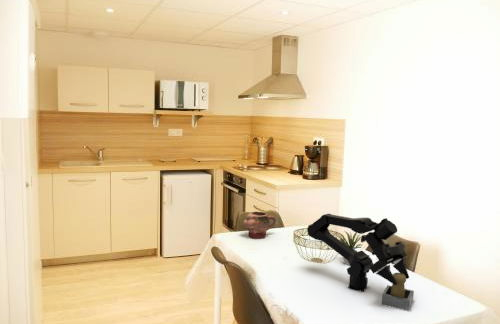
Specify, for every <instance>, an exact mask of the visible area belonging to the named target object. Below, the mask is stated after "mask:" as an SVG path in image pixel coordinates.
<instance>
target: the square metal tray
mask: <svg viewBox="0 0 500 324" xmlns="http://www.w3.org/2000/svg"><path fill="white" fill-rule="evenodd" d="M391 289H392V285H390V284H387V285H386V286H385V288H384V290H383V292H382V293H381V304H382V305H381V306H385V305H386V307H389V306H390V308H393V309H398V308H399V309H398V310H402V309H403V310H402V311H406V310H407V311H406V312H410V310H411V307H412V305H413V302H414V294H415V290H412V289H406V288H405V298H401V297H396V296H392V295H390V293H391ZM411 304H412V305H411Z"/></svg>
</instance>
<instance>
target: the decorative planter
mask: <svg viewBox="0 0 500 324" xmlns="http://www.w3.org/2000/svg"><path fill="white" fill-rule="evenodd" d="M270 220H272V221H273V222H272V224H271V225H270ZM276 221H277V220H276V217H275V216H273V215H268V213H266V212H264V211H263V212H261V211H253V212H250V213H248V214H247V215H246V217H245V219H244V220H243V225H244V227H246V228H247V230H248V237H249V238H251V239H255V240H263V239H265V238H266V237H267V231H269V230H270V229H272V228H273V227H274V225H275V223H276Z"/></svg>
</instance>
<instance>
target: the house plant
mask: <svg viewBox="0 0 500 324" xmlns="http://www.w3.org/2000/svg"><path fill="white" fill-rule="evenodd" d="M344 232H345V234H346V235H347V239H346V238H345V236H344V235H343V234H342V233H340V232H339V233H338V234H339V235H341V236H339V235H338V238H339V240H340V241H341V242H343V243H344V244H345V245H347V246H348V247H349V248H351V249H352V250H353V251H355V252H358V250H356V249H362V244H361V243H359V244H357V243H358V242H359V241H361V238H362V236H361V234H358V233H357V232H354V234H353V236H352V233H351V231H349V233H348V231H345V230H344ZM356 236H357V237H356ZM347 240H348V241H347ZM342 258H343V264H344V265H345V266H350V264H349V262H348V260H347V259H345V258H344V257H343V256H342Z"/></svg>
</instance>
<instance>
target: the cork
mask: <svg viewBox="0 0 500 324" xmlns="http://www.w3.org/2000/svg"><path fill="white" fill-rule="evenodd" d="M392 275H393V276H394V278H395V280H396V282H397V284H396V285H394V284H392V283H391V286H392V289H391V293H390V295H392V296H396V297H401V298H405V289H406V288H405V287H406V286H405V284H406V282H407V279H406V276H405V275H404V274H402V273H400V272H394V273H392Z"/></svg>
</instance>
